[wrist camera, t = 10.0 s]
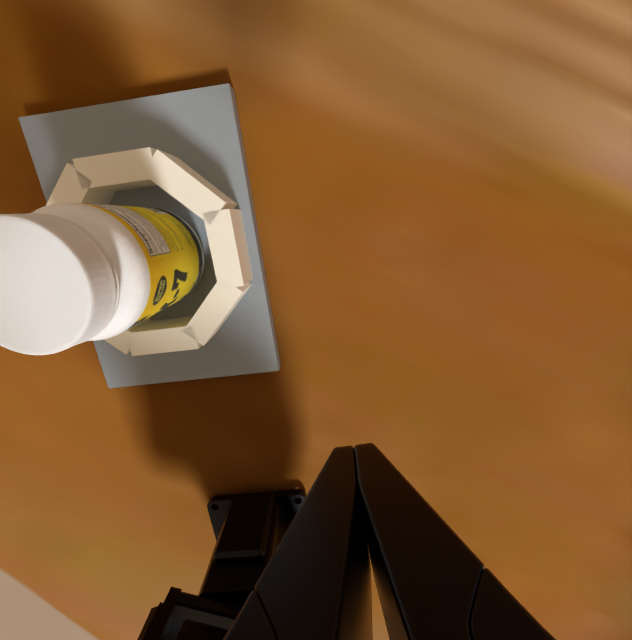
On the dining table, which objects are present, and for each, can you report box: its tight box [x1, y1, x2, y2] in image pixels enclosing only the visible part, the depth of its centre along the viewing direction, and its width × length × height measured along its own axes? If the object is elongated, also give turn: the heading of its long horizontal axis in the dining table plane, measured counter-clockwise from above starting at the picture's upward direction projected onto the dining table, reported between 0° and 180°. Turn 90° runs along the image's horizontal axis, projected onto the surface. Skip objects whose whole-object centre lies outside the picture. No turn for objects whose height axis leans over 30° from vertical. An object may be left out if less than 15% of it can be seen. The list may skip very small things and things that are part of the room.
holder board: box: [19, 83, 281, 388], centre depth 17 cm, size 14×10×3 cm
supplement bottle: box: [0, 203, 205, 355], centre depth 13 cm, size 5×5×8 cm
